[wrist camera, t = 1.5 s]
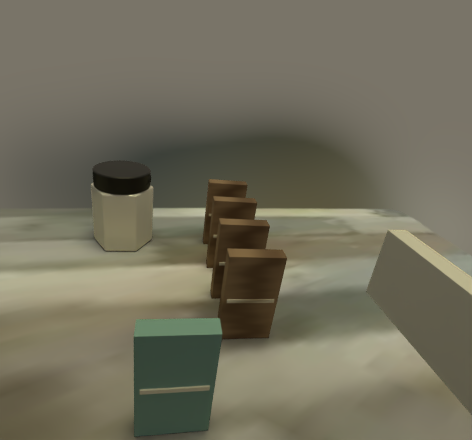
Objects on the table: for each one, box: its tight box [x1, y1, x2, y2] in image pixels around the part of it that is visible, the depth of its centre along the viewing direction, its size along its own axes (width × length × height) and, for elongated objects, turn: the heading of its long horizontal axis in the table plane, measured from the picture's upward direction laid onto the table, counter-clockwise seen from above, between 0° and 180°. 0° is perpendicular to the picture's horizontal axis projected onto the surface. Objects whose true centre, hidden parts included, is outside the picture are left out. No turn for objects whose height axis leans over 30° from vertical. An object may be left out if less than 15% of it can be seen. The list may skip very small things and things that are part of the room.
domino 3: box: [211, 218, 270, 298], centre depth 42 cm, size 6×2×11 cm, turn 99°
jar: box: [91, 161, 153, 251], centre depth 51 cm, size 9×8×12 cm
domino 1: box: [203, 179, 247, 244], centre depth 54 cm, size 6×2×11 cm, turn 99°
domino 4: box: [218, 248, 287, 339], centre depth 36 cm, size 6×2×11 cm, turn 99°
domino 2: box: [206, 196, 257, 268], centre depth 48 cm, size 6×2×11 cm, turn 99°
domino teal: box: [134, 318, 222, 437], centre depth 26 cm, size 6×2×11 cm, turn 99°
